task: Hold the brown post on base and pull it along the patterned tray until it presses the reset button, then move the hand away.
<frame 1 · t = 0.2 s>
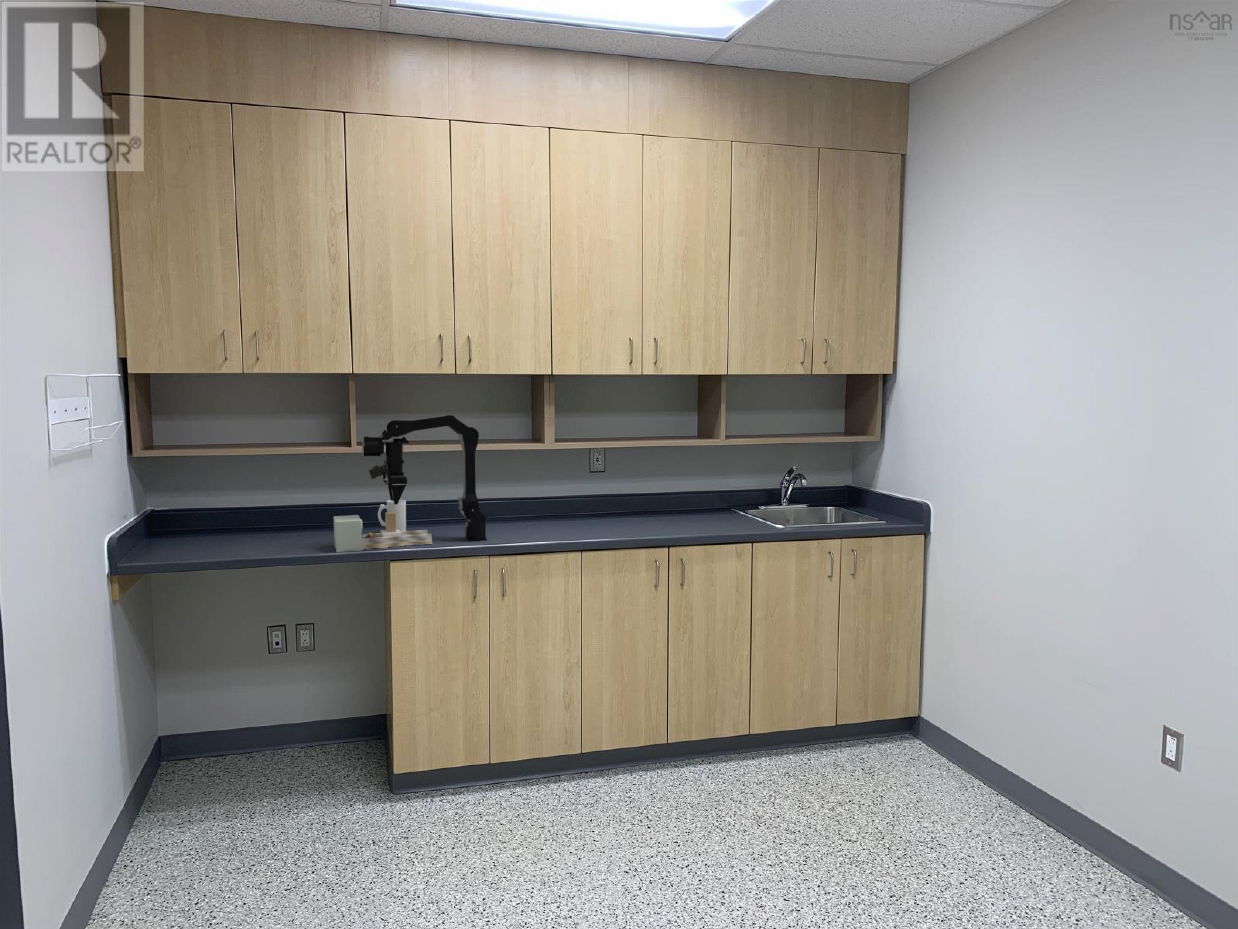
hand: (394, 502, 282), 15 cm above the counter, tool pointing down, fingers open, 9 cm apart
brown post on base: (390, 526, 284), point 6 cm above the counter, slide at 0.0 cm
patterned tray: (395, 544, 285), on the counter
reset button: (363, 538, 281), point 3 cm above the counter, slide at 0.0 cm
mug: (392, 534, 305), on the counter
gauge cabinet: (345, 548, 279), on the counter
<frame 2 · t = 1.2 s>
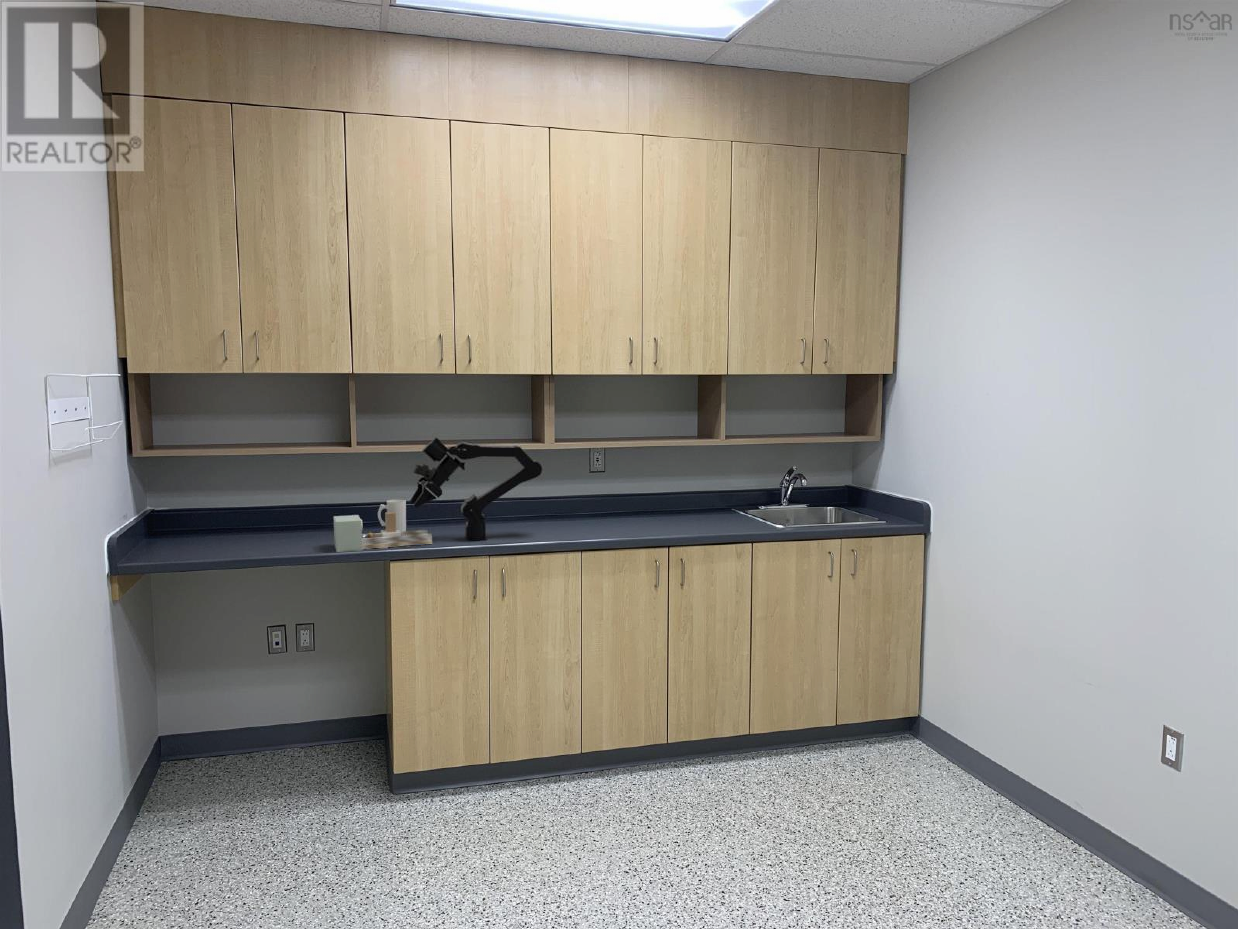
hand: (412, 504, 286), 13 cm above the counter, tool tilted 45°, fingers open, 9 cm apart
nothing on the counter moved.
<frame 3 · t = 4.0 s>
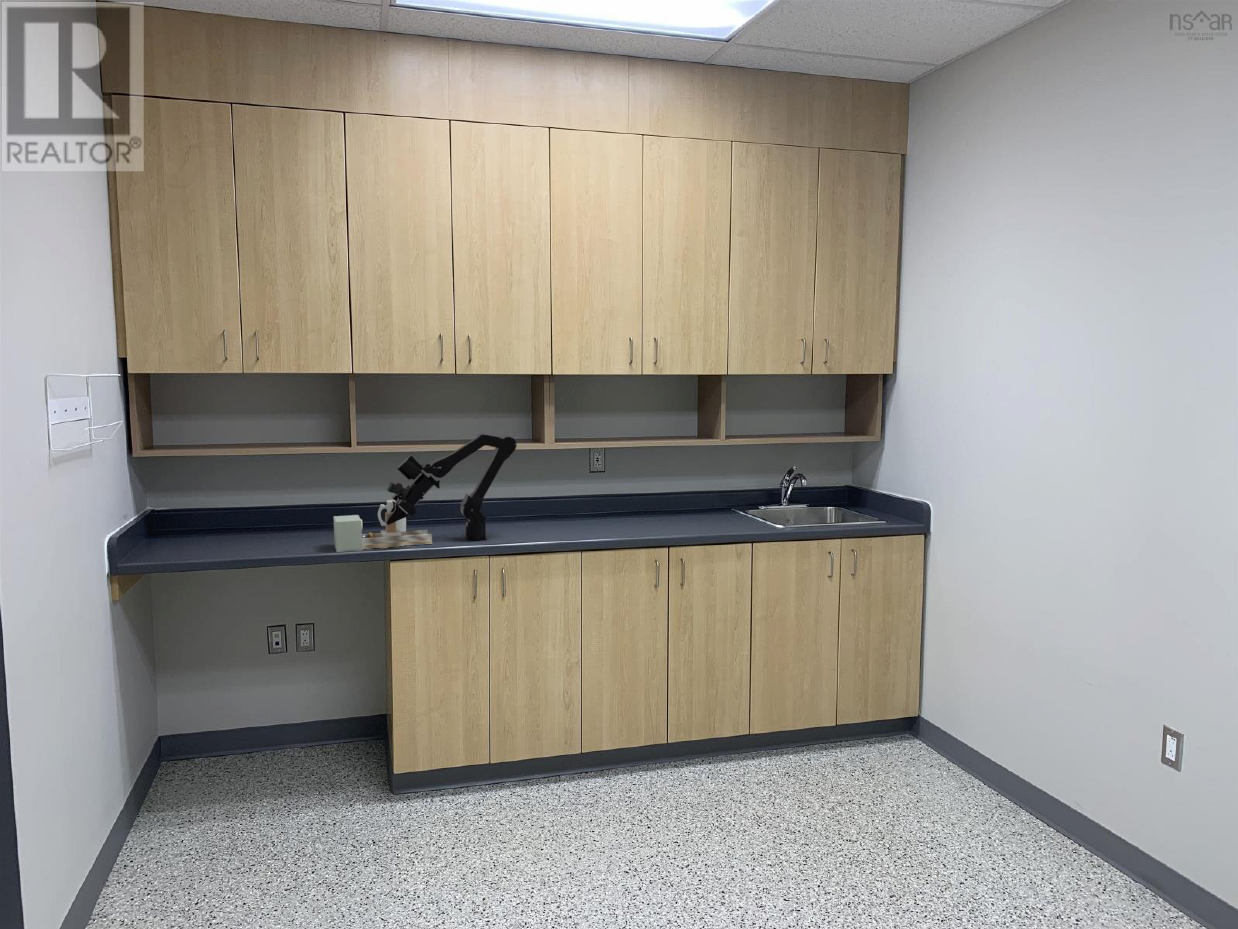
hand: (386, 523, 283), 8 cm above the counter, tool tilted 45°, fingers closed on brown post on base, 3 cm apart
brown post on base: (390, 526, 284), point 6 cm above the counter, slide at 0.0 cm, touching gripper
everything else where it was.
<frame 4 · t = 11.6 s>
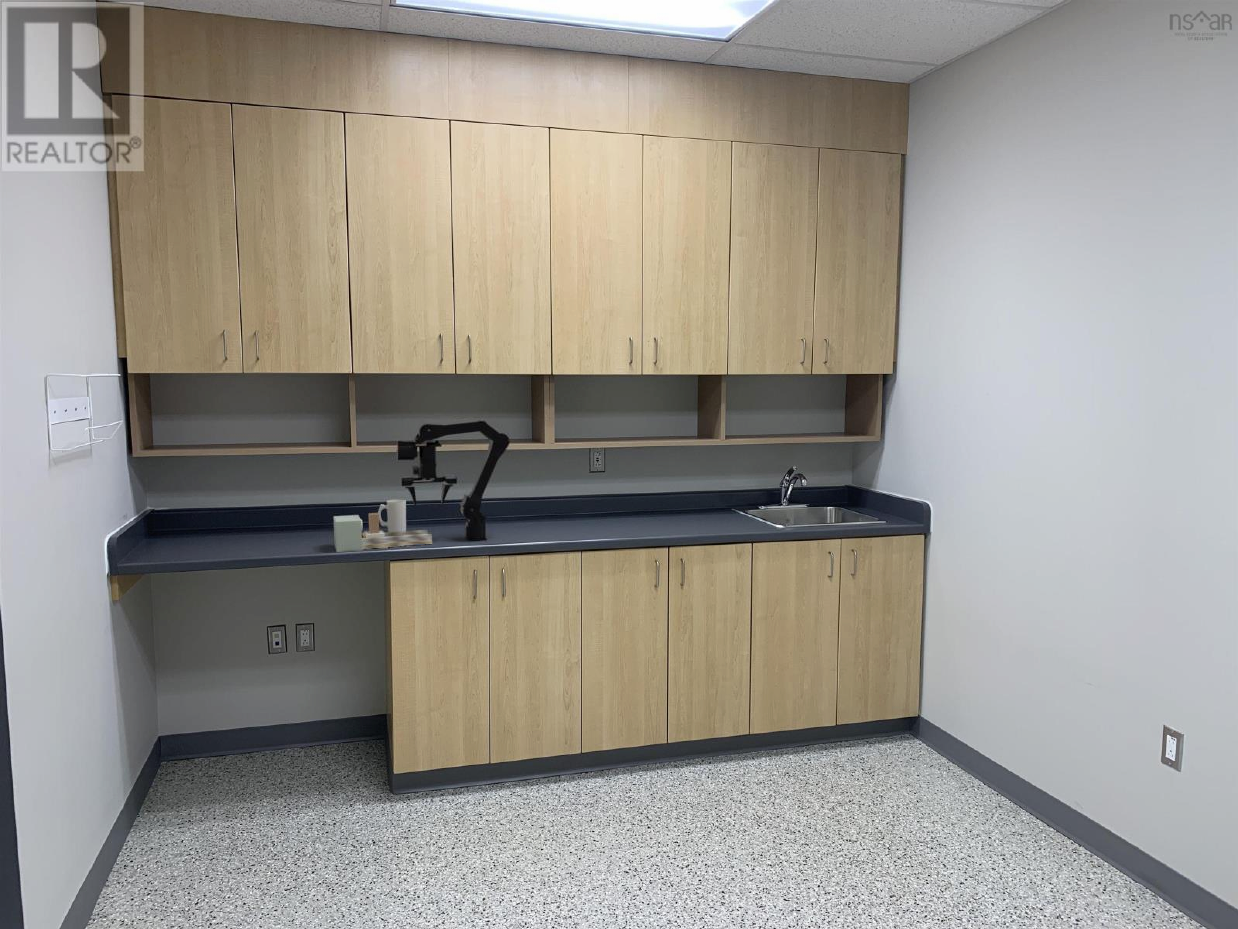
hand: (428, 504, 288), 13 cm above the counter, tool pointing down, fingers open, 9 cm apart
brown post on base: (374, 527, 282), point 6 cm above the counter, slide at 5.5 cm, touching reset button
reset button: (356, 538, 280), point 3 cm above the counter, slide at 2.3 cm, touching brown post on base
everything else where it was.
at the end: reset button slide at 2.3 cm; brown post on base slide at 5.5 cm; the gripper is holding nothing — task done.
